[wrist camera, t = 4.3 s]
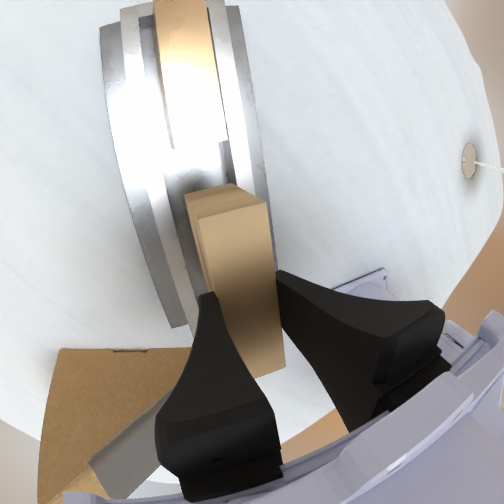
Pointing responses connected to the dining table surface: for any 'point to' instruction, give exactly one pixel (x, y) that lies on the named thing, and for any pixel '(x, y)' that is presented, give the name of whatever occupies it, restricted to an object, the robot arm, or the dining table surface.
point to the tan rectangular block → (240, 271)
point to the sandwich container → (104, 420)
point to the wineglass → (474, 162)
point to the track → (175, 162)
